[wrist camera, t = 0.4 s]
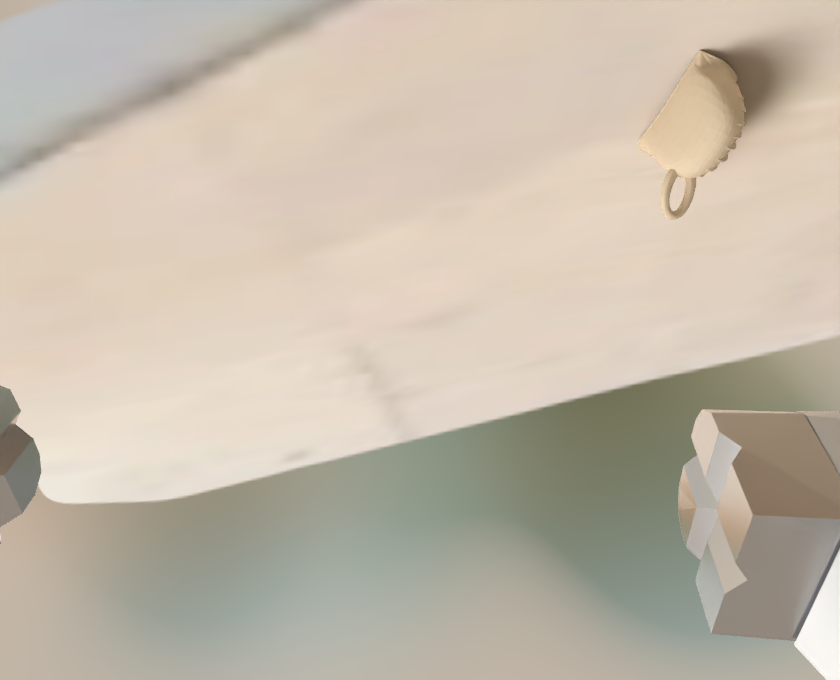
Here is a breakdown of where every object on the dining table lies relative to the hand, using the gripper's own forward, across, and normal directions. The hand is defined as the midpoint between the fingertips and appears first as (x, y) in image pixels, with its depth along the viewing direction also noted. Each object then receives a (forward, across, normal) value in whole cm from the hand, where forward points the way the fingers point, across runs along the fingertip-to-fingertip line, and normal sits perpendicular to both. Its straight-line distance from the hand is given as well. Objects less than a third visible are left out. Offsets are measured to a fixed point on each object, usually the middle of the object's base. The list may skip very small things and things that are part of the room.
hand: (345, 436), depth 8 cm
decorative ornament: (+40, -14, +8) cm, 43 cm away
